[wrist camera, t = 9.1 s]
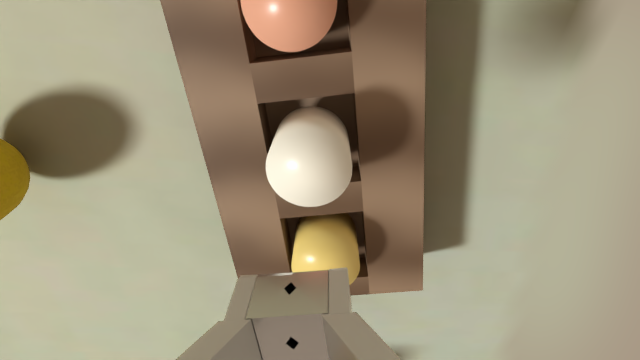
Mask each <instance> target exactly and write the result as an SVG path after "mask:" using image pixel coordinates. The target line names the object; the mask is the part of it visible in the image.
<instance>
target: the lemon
mask: <svg viewBox="0 0 640 360" xmlns="http://www.w3.org/2000/svg"><path fill="white" fill-rule="evenodd" d="M29 182H30V172H29V167H28V165H27V163H26V161H25V159H24V157H23V156H22V154H21V153H20V152H19V151H18V150H17V149H16V148H15V147H14V146H12V145H11V144H9V143H8V142H6V141H4V140H2V139H0V220H1V219H2V218H4V217H5V216H6V215H8V214H9V213H10V212H11V211H12V210H13V209H15V208H16V207H17V206H18V205H19V204H20V202H21V201H22V199H23V198H24V196H25V194H26V192H27V190H28V187H29Z"/></svg>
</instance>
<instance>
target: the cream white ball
mask: <svg viewBox="0 0 640 360" xmlns="http://www.w3.org/2000/svg"><path fill="white" fill-rule="evenodd" d="M266 175H267V178H268V181H269V183H270V185H271V187H272V188H273V189H274V191H275V192H276V193H277V194H278V195H279V196H280V197H282V198H283V199H284V200H286V201H288V202H290V203H292V204H295V205H298V206H303V207H316V206H322V205H325V204H328V203H330V202H332V201H334V200H335V199H337V198H338V197H339V196H340V195H341V194H342V193H343V192H344V191H345V190H346V188H347V187H348V185H349V182H350V180H351V176H352V160H351V152H350V145H349V138H348V133H347V130H346V127H345V125H344V124H343V122H342V121H341V120H340V119H339V117H337V116H336V115H335V114H334V113H332V112H331V111H329V110H327V109H324V108H320V107H314V106H309V107H302V108H299V109H296V110H294V111H292V112H291V113H289V114H288V115H287V116H286V117H285V118H284V119H283V120H282V121H281V123H280V124H279V127H278V129H277V131H276V134H275V137H274V139H273V142H272V144H271V147H270V150H269V152H268V155H267V158H266Z"/></svg>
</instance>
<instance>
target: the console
mask: <svg viewBox="0 0 640 360" xmlns="http://www.w3.org/2000/svg"><path fill="white" fill-rule="evenodd" d="M160 1H161V5H162V8H163V12H164V16H165V19H166V23H167V26H168V30H169V33H170V37H171V41H172V44H173V48H174V51H175V55H176V58H177V62H178V66H179V69H180V73H181V76H182V80H183V83H184V87H185V91H186V94H187V98H188V101H189V105H190V109H191V112H192V116H193V119H194V123H195V126H196V130H197V134H198V137H199V141H200V144H201V148H202V151H203V155H204V159H205V162H206V166H207V169H208V173H209V176H210V180H211V184H212V187H213V191H214V194H215V198H216V201H217V205H218V209H219V212H220V216H221V219H222V223H223V226H224V230H225V234H226V237H227V241H228V244H229V248H230V251H231V255H232V259H233V262H234V266H235V269H236V273H237V276H238V278H239V277H240V276H242V275H258V274H273V273H292V268H291V263H292V255H293V248H294V241H295V234H296V227H297V224H298V221H299V220H300V218H301V217H304V216H315V215H327V214H338V213H347V214H348V215H349V216H350V217H351V218H352V220H353V221H354V224H355V227H356V234H357V243H358V251H359V260H360V271H359V274H358V276H357V278H356V279H355V281H354V282H353V283H352V284H351V285H349V286H350V295H363V294H377V293H391V292H405V291H419V290H423V223H424V146H425V68H426V0H337V10H336V15H335V18H334V21H333V23H332V25H331V27H330V29H329V31H328V32H327V34H326V35H325V36H324V37H323V38H322V39H321V40H320V41H319V42H318V43H317V44H315V45H314V46H312V47H310V48H308V49H305V50H302V51H298V52H283V51H279V50H276V49H273V48H271V47H269V46H267V45H266V44H264V43H263V42H261V41H260V40H259V39H258V38H257V37H256V36H255V35H254V33H253V32H252V31H251V29H250V28H249V26H248V24H247V22H246V20H245V18H244V15H243V12H242V8H241V1H240V0H160ZM309 106H314V107H320V108H324V109H327V110H329V111H331V112H332V113H334V114H335V115H336V116H337V117H339V119H340V120H341V121H342V122H343V124H344V125H345V127H346V130H347V133H348V138H349V145H350V152H351V160H352V176H351V180H350V182H349V185H348V187H347V188H346V190H345V191H344V192H343V193H342V194H341V195H340V196H339V197H338V198H337V199H335V200H334V201H332V202H330V203H328V204H325V205H322V206H316V207H303V206H298V205H295V204H292V203H290V202H288V201H286V200H284V199H283V198H282V197H280V196H279V195H278V194H277V193H276V192H275V191H274V189H273V188H272V187H271V185H270V183H269V181H268V178H267V175H266V158H267V155H268V152H269V150H270V147H271V144H272V142H273V139H274V137H275V134H276V131H277V129H278V127H279V124H280V123H281V121H282V120H283V119H284V118H285V117H286V116H287V115H288V114H289V113H291V112H292V111H294V110H296V109H299V108H302V107H309Z"/></svg>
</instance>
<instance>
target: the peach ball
mask: <svg viewBox="0 0 640 360" xmlns="http://www.w3.org/2000/svg"><path fill="white" fill-rule="evenodd" d="M240 1H241V8H242V12H243V15H244V18H245V20H246V22H247V24H248V26H249V28H250V29H251V31H252V32H253V33H254V35H255V36H256V37H257V38H258V39H259V40H260V41H261V42H263V43H264V44H266V45H267V46H269V47H271V48H273V49H276V50H279V51H283V52H298V51H302V50H305V49H308V48H310V47H312V46H314V45H315V44H317V43H318V42H319V41H320V40H321V39H322V38H323V37H324V36H325V35H326V34H327V32H328V31H329V29H330V27H331V25H332V23H333V21H334V18H335V15H336V10H337V0H240Z"/></svg>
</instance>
